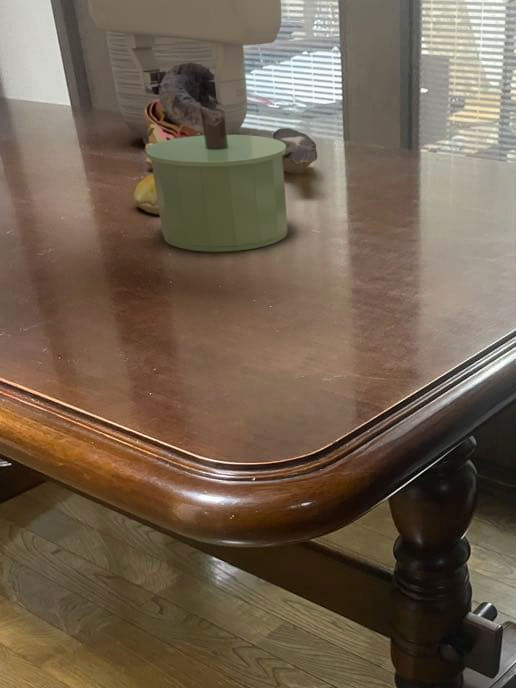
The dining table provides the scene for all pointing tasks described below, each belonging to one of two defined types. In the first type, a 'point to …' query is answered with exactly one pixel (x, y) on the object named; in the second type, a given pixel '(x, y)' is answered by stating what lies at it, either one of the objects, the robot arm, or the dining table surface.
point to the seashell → (189, 96)
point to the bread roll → (147, 195)
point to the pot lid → (216, 149)
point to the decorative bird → (296, 150)
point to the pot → (221, 205)
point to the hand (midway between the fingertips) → (189, 99)
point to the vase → (167, 57)
